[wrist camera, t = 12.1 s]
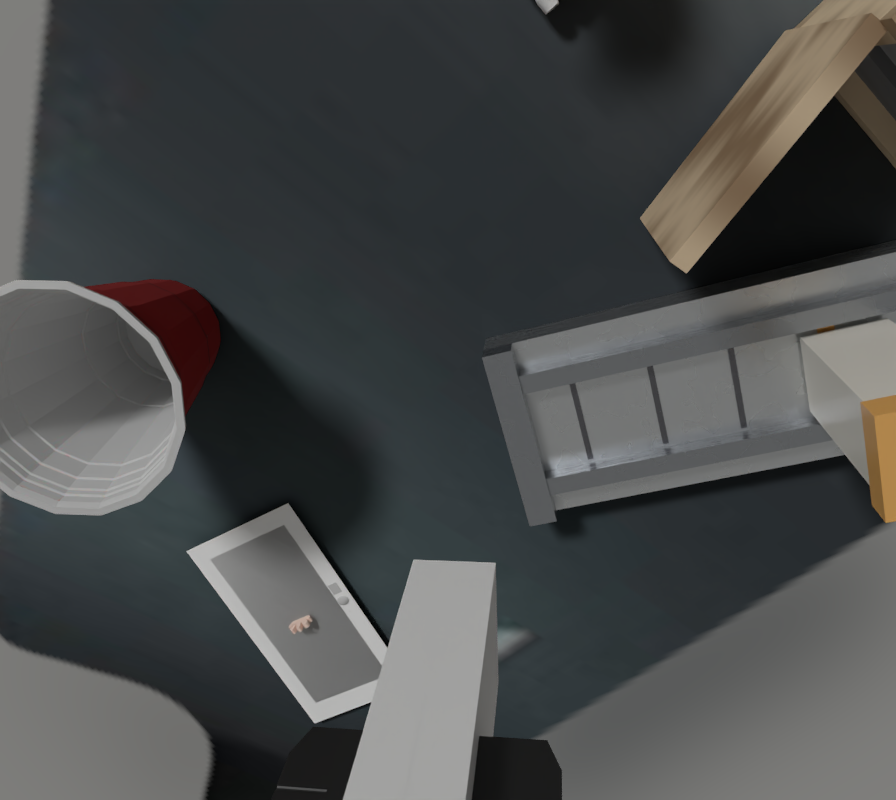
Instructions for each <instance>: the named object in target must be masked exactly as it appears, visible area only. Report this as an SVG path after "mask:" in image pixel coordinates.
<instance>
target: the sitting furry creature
mask: <svg viewBox="0 0 896 800" xmlns="http://www.w3.org/2000/svg"><path fill="white" fill-rule="evenodd" d="M535 1H536V3H537V5H538V6H539V7H540V8H541V10H542V11H543V12H544V13H545V14H548V13H549V12H550V11H552V10H553V9H554V8H555V7H556V6H557V5H558V4H559V1H558V0H535Z"/></svg>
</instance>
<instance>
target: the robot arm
mask: <svg viewBox="0 0 896 800" xmlns="http://www.w3.org/2000/svg"><path fill="white" fill-rule="evenodd" d="M497 691H498V647H497V602H496V563H487V562H460V561H434V560H413V563H412V566H411V570H410V573H409V577H408V580H407V583H406V587H405V590H404V594H403V597H402V600H401V604H400V607H399V611H398V614H397V617H396V621H395V624H394V628H393V631H392V634H391V638H390V641H389V645H388V648H387V651H386V655H385V658H384V662H383V665H382V668H381V672H380V675H379V679H378V682H377V685H376V689H375V692H374V695H373V699H372V702H371V706H370V709H369V712H368V716H367V719H366V723H365V726H364V729H363V730H353V729H338V728H323V727H313V728H312V729H311V730H310V731H309V732H308V733H307V734H306V735H305V736H304V737H303V739H302V740H301V741H300V742H299V743H298V744H297V745H296V746H295V747H294V748H293V749H292V751H291V752H290V753H289V755H288V758H287V760H286V763H285V765H284V768H283V771H282V773H281V776H280V778H279V781H278V783H277V790H275V791H274V793H273V796H272V799H271V800H562V770H561V768H560V766H559V764H558V762H557V760H556V758H555V756H554V754H553V752H552V750H551V748H550V745H549V744H548V741H547V740H533V739H518V738H503V737H493V731H494V721H495V711H496V701H497Z"/></svg>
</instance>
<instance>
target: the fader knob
mask: <svg viewBox="0 0 896 800" xmlns="http://www.w3.org/2000/svg"><path fill="white" fill-rule="evenodd" d="M800 344H801V351H802V358H803V365H804V373H805V380H806V387H807V394H808V401H809V409H810V412H811V413H812V414H813V416H814V417H815V418H816V419H817V421H818V422H819V423H820V424H821V426H822V427H823V428H824V429H825V431H826V432H827V433H828V434H829V435H830V437H831V438H832V439H833V440H834V442H835V443H836V444H837V445H838V447H839V448H840V449H841V450H842V452H843V453H844V454H845V455H846V457H847V458H848V459H849V460H850V462H851V463H852V464H853V465H854V467H855V468H856V469H857V470H858V472H859V473H860V474H861V475H862V477H863V478H864V479H865V480H866V481H867V483H868V484H869V485H870V492H871V501H872V506H873V507H874V508H875V510H876V511H877V512H878V514H879V515H880V516H881V517H882V519H883V520H884V521H885V523H889V522H895V521H896V324H895V323H894V322H892V321H891V320H889V319H888V318H885V319H880V320H876V321H871V322H867V323H862V324H858V325H853V326H849V327H844V328H840V329H835V330H831V331H826V332H822V333H817V334H813V335H808V336H804V337H800Z"/></svg>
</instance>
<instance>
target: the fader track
mask: <svg viewBox="0 0 896 800" xmlns="http://www.w3.org/2000/svg"><path fill="white" fill-rule="evenodd" d="M885 318H888V319H889V320H891V321H892V322H894V323H895V324H896V240H893V241H889V242H885V243H881V244H877V245H873V246H869V247H864V248H860V249H856V250H852V251H848V252H844V253H839V254H835V255H831V256H827V257H823V258H819V259H815V260H810V261H806V262H802V263H798V264H794V265H790V266H785V267H781V268H777V269H773V270H769V271H765V272H761V273H756V274H752V275H748V276H744V277H740V278H736V279H731V280H727V281H723V282H719V283H715V284H711V285H707V286H702V287H698V288H694V289H690V290H686V291H682V292H677V293H673V294H669V295H665V296H661V297H657V298H653V299H648V300H644V301H640V302H636V303H632V304H628V305H623V306H619V307H615V308H611V309H607V310H603V311H599V312H594V313H590V314H586V315H582V316H578V317H574V318H569V319H565V320H561V321H557V322H553V323H549V324H545V325H540V326H536V327H532V328H528V329H524V330H520V331H515V332H511V333H507V334H503V335H499V336H495V337H491V338H486V342H485V347H484V351H483V356H482V359H483V363H484V366H485V370H486V373H487V377H488V380H489V384H490V387H491V391H492V394H493V398H494V402H495V405H496V409H497V412H498V416H499V419H500V423H501V426H502V430H503V433H504V437H505V440H506V444H507V447H508V451H509V455H510V458H511V462H512V465H513V469H514V472H515V476H516V479H517V483H518V486H519V490H520V493H521V497H522V500H523V504H524V508H525V511H526V515H527V518H528V522H529V525H530V526H534V525H540V524H545V523H550V522H556V521H557V510H560V509H565V508H571V507H576V506H581V505H586V504H591V503H597V502H602V501H607V500H612V499H617V498H623V497H628V496H633V495H638V494H644V493H649V492H654V491H659V490H664V489H670V488H675V487H680V486H685V485H690V484H696V483H701V482H706V481H711V480H716V479H722V478H727V477H732V476H737V475H742V474H748V473H753V472H758V471H763V470H769V469H774V468H779V467H784V466H789V465H795V464H800V463H805V462H810V461H815V460H821V459H826V458H831V457H836V456H841V455H845V454H844V453H843V452H842V450H841V449H840V448H839V447H838V445H837V444H836V443H835V442H834V440H833V439H832V438H831V437H830V435H829V434H828V433H827V432H826V431H825V429H824V428H823V427H822V426H821V424H820V423H819V422H818V421H817V419H816V418H815V417H814V416H813V414H812V413H811V412H810V409H809V401H808V394H807V387H806V380H805V373H804V365H803V358H802V351H801V344H800V337H804V336H808V335H813V334H817V333H822V332H826V331H831V330H835V329H840V328H844V327H849V326H853V325H858V324H862V323H867V322H871V321H876V320H880V319H885Z"/></svg>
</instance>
